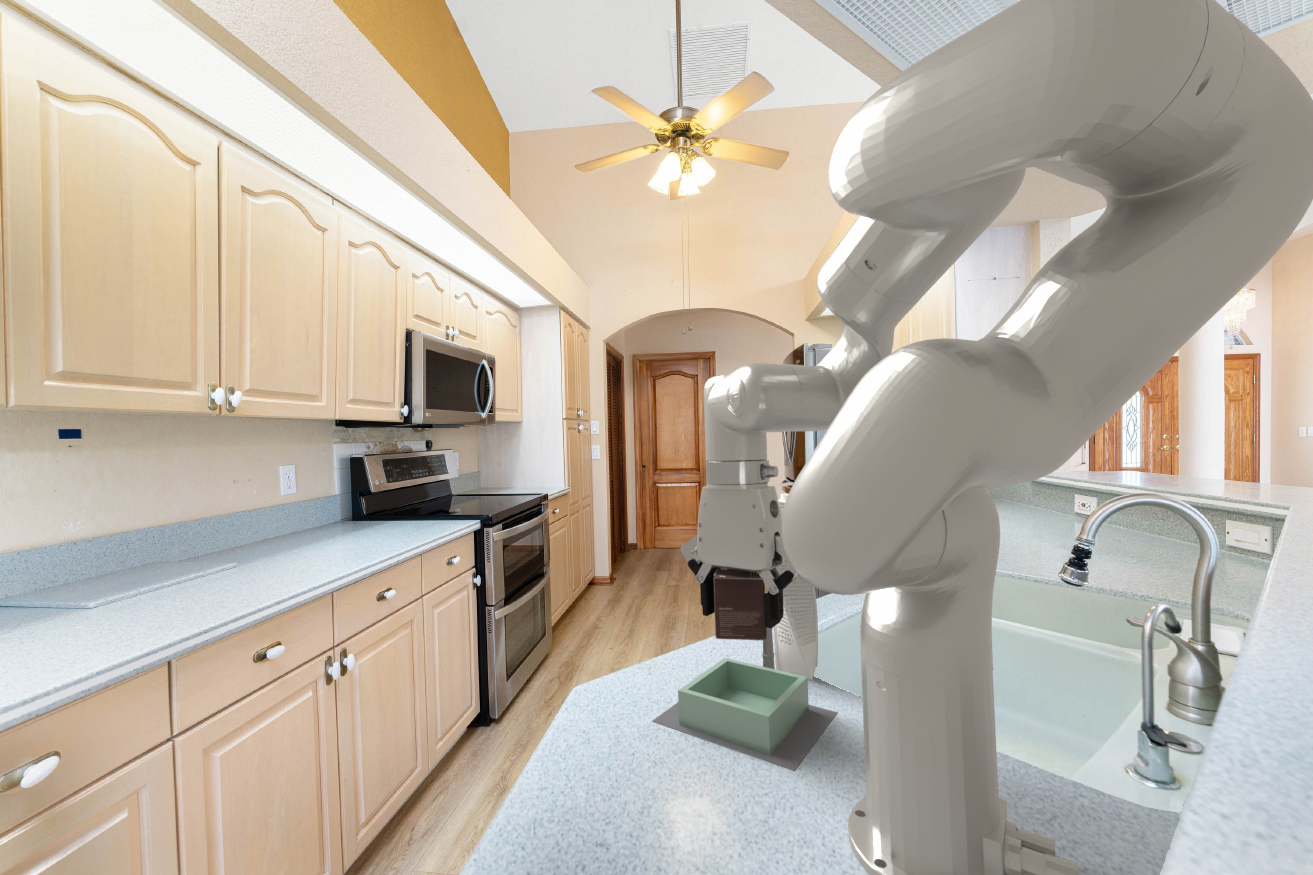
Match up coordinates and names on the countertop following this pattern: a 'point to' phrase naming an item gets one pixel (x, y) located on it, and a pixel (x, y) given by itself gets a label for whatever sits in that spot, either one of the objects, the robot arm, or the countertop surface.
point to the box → (739, 605)
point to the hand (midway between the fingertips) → (740, 617)
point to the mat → (785, 753)
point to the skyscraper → (794, 625)
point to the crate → (744, 704)
